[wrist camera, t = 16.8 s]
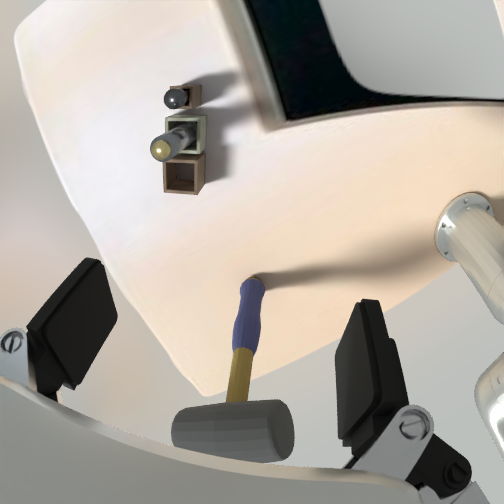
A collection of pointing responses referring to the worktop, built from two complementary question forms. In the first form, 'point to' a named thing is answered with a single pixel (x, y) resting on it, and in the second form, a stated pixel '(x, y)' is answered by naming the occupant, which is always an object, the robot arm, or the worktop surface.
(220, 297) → the worktop surface
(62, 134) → the worktop surface
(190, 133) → the gray yellow-capped cylinder
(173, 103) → the round dark gray knob
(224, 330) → the worktop surface
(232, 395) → the rubber mallet
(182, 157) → the compartment holder
